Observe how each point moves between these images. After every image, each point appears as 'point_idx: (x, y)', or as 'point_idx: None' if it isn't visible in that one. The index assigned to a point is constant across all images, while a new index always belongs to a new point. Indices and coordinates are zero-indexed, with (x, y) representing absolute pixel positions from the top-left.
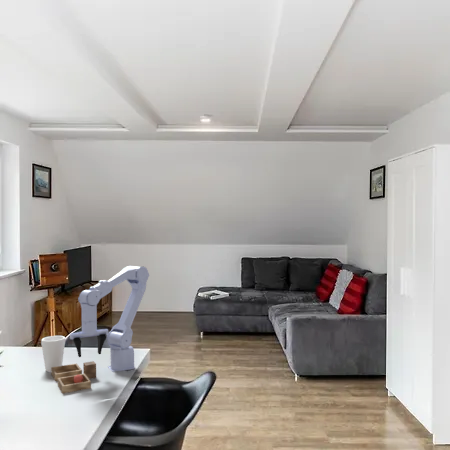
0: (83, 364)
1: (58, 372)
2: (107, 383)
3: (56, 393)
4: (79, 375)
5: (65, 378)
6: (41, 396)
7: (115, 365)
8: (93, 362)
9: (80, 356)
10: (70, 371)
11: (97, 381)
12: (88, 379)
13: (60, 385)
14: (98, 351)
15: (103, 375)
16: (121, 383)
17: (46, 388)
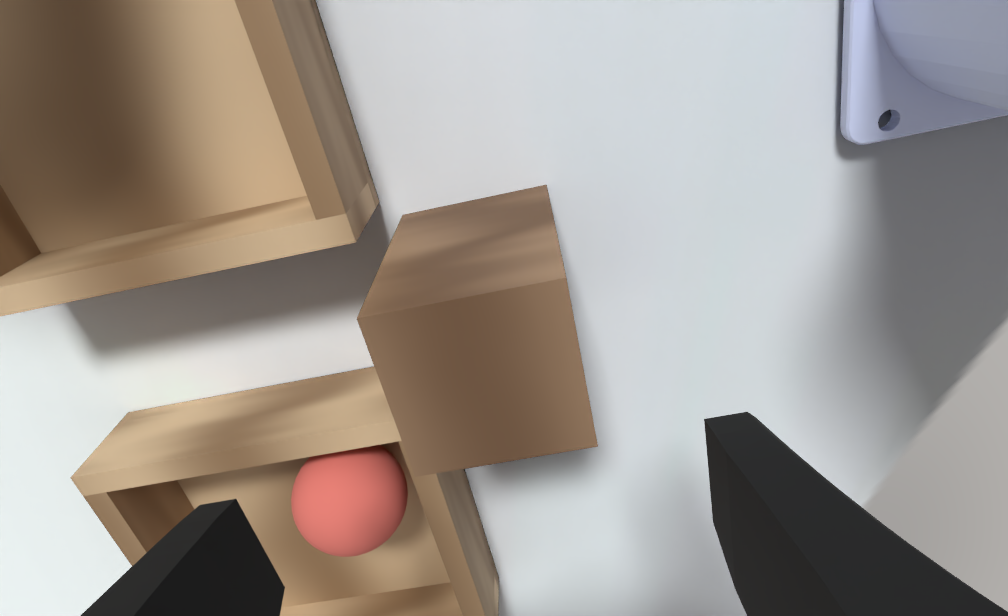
0: (365, 307)
1: None
2: (676, 483)
3: None
4: (354, 549)
5: (178, 472)
6: (64, 597)
7: (968, 91)
8: (557, 357)
9: (269, 607)
10: (170, 255)
11: None
12: (472, 607)
13: None
14: (726, 512)
15: (683, 203)
16: None
17: (20, 436)
